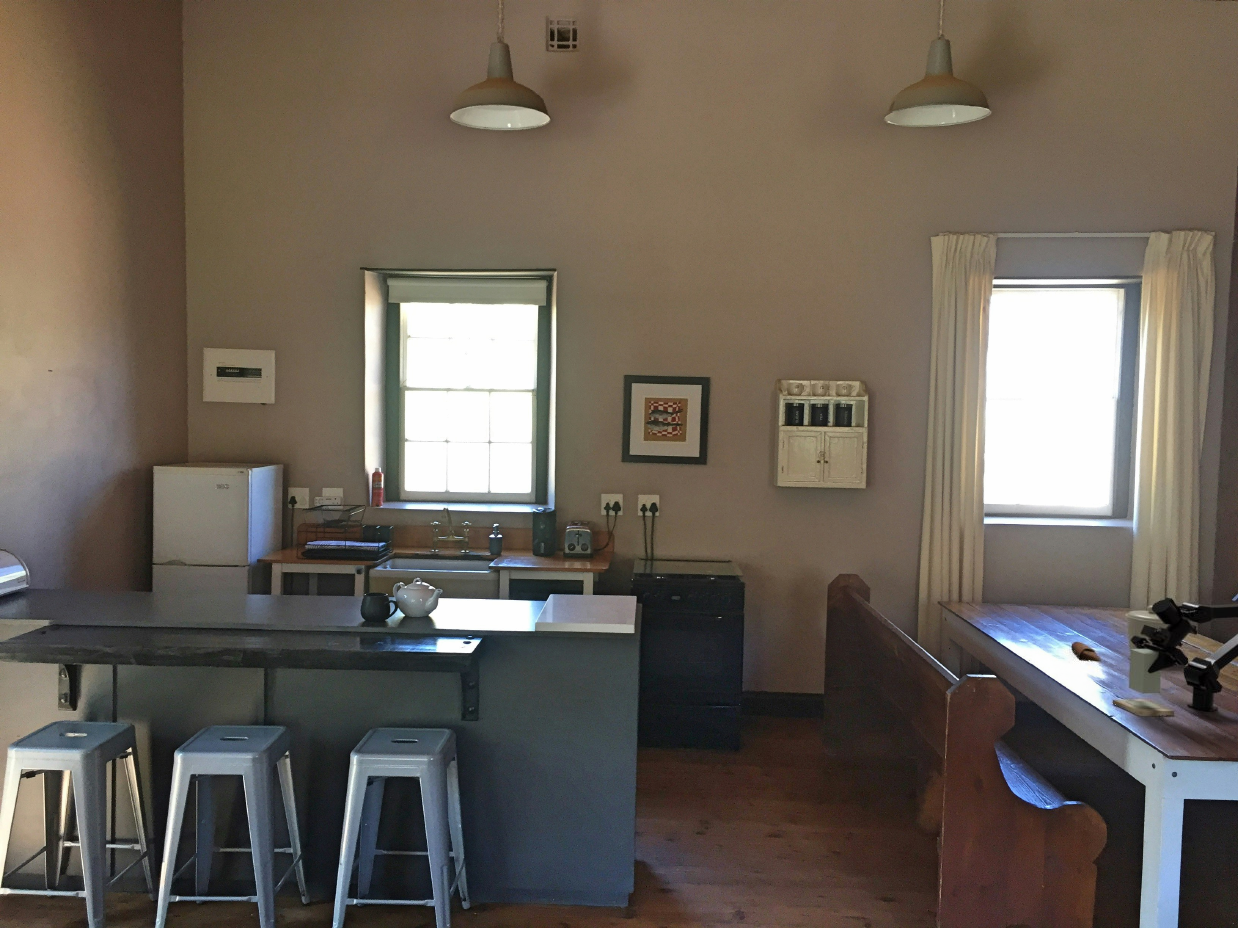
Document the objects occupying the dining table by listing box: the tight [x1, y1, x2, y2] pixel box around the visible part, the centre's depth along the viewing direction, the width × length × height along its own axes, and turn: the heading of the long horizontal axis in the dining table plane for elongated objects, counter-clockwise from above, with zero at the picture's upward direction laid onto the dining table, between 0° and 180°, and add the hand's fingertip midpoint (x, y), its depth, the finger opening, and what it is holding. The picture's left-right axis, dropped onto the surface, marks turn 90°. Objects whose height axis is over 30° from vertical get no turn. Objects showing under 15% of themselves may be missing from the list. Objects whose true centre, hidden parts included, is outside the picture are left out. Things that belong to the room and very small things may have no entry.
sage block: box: [1128, 649, 1162, 695], centre depth 281 cm, size 6×6×12 cm
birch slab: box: [1111, 698, 1175, 717], centre depth 281 cm, size 12×12×2 cm
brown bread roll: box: [1070, 641, 1102, 662], centre depth 351 cm, size 18×7×7 cm, turn 162°
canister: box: [1124, 604, 1169, 650], centre depth 347 cm, size 18×18×21 cm
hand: (1141, 669), depth 281 cm, fingers closed on sage block, 6 cm apart
